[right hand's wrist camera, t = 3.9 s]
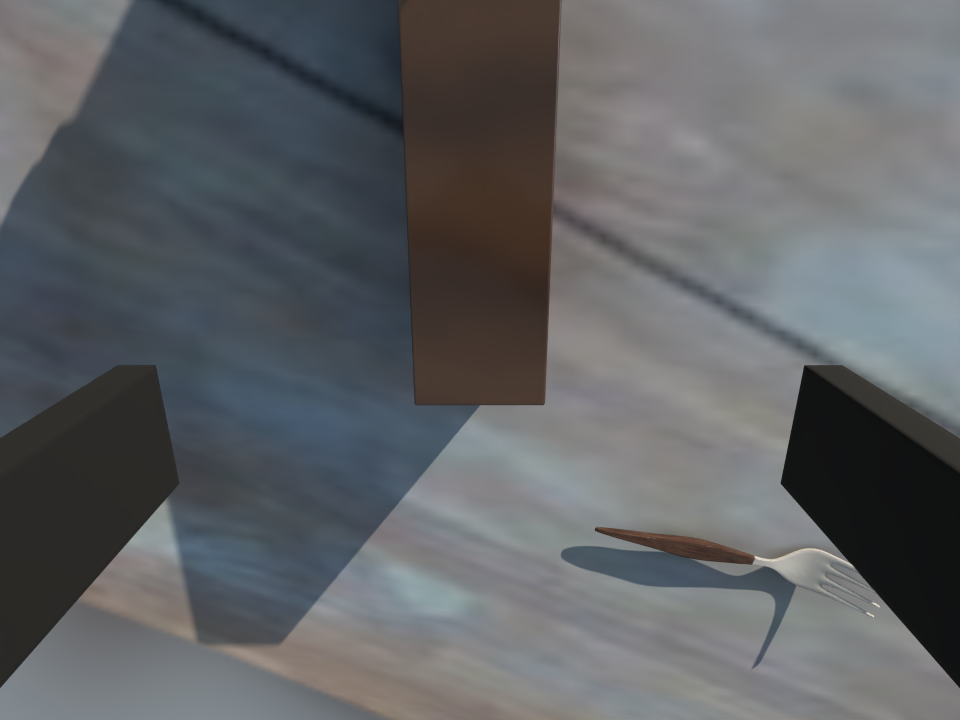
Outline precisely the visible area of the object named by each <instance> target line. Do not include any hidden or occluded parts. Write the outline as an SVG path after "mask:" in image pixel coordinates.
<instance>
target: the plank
mask: <svg viewBox="0 0 960 720" xmlns="http://www.w3.org/2000/svg"><path fill="white" fill-rule="evenodd" d="M561 2H562V0H398V15H399V39H400V63H401V87H402V111H403V135H404V159H405V183H406V207H407V231H408V255H409V279H410V303H411V328H412V352H413V376H414V400H415V405H544V404H545V389H546V365H547V341H548V317H549V293H550V268H551V244H552V220H553V196H554V171H555V147H556V123H557V99H558V74H559V50H560V26H561Z"/></svg>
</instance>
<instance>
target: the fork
mask: <svg viewBox="0 0 960 720" xmlns="http://www.w3.org/2000/svg"><path fill="white" fill-rule="evenodd" d="M595 531H597V532H599V533H602V534H605V535H609V536H612V537H615V538H619V539H622V540H626V541H629V542H633V543H637V544H640V545H644V546H648V547H651V548H654V549H658V550H661V551H664V552H668V553H671V554H675V555H678V556H682V557H686V558H691V559H697V560H705V561H715V562H727V563H739V564H750V565H760V566H766V567H770V568H772V569H774V570H775V571H777V572H778V573H779V574H780V575H781V576H782V577H784V578H785V579H786V580H788V581H789V582H791V583H793V584H795V585H797V586H799V587H802V588H805V589H808V590H811V591H814V592H816V593H819V594H822V595H824V596H826V597H829V598H831V599H833V600H836V601H838V602H840V603H842V604H845V605H847V606H849V607H851V608H853V609H856V610H858V611H860V612H862V613H864V614H866V615H868V616H870V617H872V618H874V616H873V615H872V614H870V613H868V612H866V611H864V610H863V609H861V608H859V607H857V606H855V605H854V604H852V603H850V602H848V601H846V600H844V599H843V598H841V597H839V596H837V595H835V594H833V593H831V592H829V591H827V590H826V589H824V588H823V587H822V586H821V585H822V584H825V585H829V586H831V587H834V588H836V589H838V590H841V591H843V592H845V593H848V594H850V595H852V596H855V597H857V598H859V599H861V600H863V601H866V602H868V603H870V604H872V605H874V606H876V607H880V606H879V605H877V604H875V603H874V602H872V601H870V600H868V599H866V598H865V597H863V596H861V595H859V594H857V593H855V592H854V591H852V590H850V589H848V588H846V587H844V586H842V585H840V584H838V583H836V582H834V581H833V580H831V579H829V578H828V577H827V576H826V575H827V574H830V575H834V576H837V577H839V578H842V579H844V580H846V581H849V582H851V583H853V584H856V585H858V586H860V587H863V588H865V589H867V590H869V591H872V592H874V593H876V592H875V591H874V589H872V588H871V587H869V586H867V585H865V584H863V583H861V582H859V581H857V580H856V579H854V578H852V577H850V576H848V575H846V574H844V573H842V572H840V571H838V570H836V569H835V568H833V567H832V564H836V565H840V566H842V567H845V568H848V569H850V570H852V571H855V572H857V573H859V572H858V571H857V570H856V569H855V568H854V567H853V565H852V564H850V563H848V562H846V561H844V560H842V559H840V558H837V557H835V556H833V555H831V554H829V553H827V552H825V551H822V550H819V549H813V548H807V549H801V550H797V551H794V552H792V553H789V554H787V555H785V556H782V557H779V558H776V559H764V558H760V557H756V556H753V555H750V554H747V553H744V552H741V551H738V550H735V549H732V548H729V547H725V546H722V545H719V544H716V543H713V542H709V541H705V540H701V539H697V538H691V537H684V536H674V535H663V534H653V533H645V532H637V531H630V530H622V529H614V528H603V527H596V528H595ZM876 594H877V593H876Z"/></svg>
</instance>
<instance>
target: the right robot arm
mask: <svg viewBox="0 0 960 720" xmlns="http://www.w3.org/2000/svg"><path fill="white" fill-rule="evenodd" d="M178 484H179V479H178V474H177V469H176V464H175V459H174V454H173V449H172V445H171V440H170V435H169V430H168V425H167V420H166V415H165V410H164V405H163V400H162V395H161V390H160V385H159V380H158V375H157V370H156V365H118V366H116V367H114V368H113V369H111V370H109V371H108V372H106V373H105V374H103V375H101V376H100V377H98V378H97V379H95V380H93V381H92V382H90V383H89V384H87V385H85V386H84V387H82V388H80V389H79V390H77V391H76V392H74V393H72V394H71V395H69V396H68V397H66V398H64V399H63V400H61V401H60V402H58V403H56V404H55V405H53V406H51V407H50V408H48V409H47V410H45V411H43V412H42V413H40V414H39V415H37V416H35V417H34V418H32V419H31V420H29V421H27V422H26V423H24V424H22V425H21V426H19V427H18V428H16V429H14V430H13V431H11V432H10V433H8V434H6V435H5V436H3V437H2V438H0V688H1V686H2V685H3V684H4V683H5V682H6V681H7V680H8V678H9V677H10V676H11V675H12V674H13V673H14V672H15V670H16V669H17V668H18V667H19V666H20V665H21V664H22V662H23V661H24V660H25V659H26V658H27V657H28V656H29V654H30V653H31V652H32V651H33V650H34V649H35V648H36V646H37V645H38V644H39V643H40V642H41V641H42V640H43V638H44V637H45V636H46V635H47V634H48V633H49V632H50V631H51V629H52V628H53V627H54V626H55V625H56V624H57V623H58V621H59V620H60V619H61V618H62V617H63V616H64V615H65V613H66V612H67V611H68V610H69V609H70V608H71V607H72V605H73V604H74V603H75V602H76V601H77V600H78V599H79V597H80V596H81V595H82V594H83V593H84V592H85V591H86V589H87V588H88V587H89V586H90V585H91V584H92V583H93V581H94V580H95V579H96V578H97V577H98V576H99V575H100V573H101V572H102V571H103V570H104V569H105V568H106V567H107V565H108V564H109V563H110V562H111V561H112V560H113V559H114V558H115V556H116V555H117V554H118V553H119V552H120V551H121V550H122V548H123V547H124V546H125V545H126V544H127V543H128V542H129V540H130V539H131V538H132V537H133V536H134V535H135V534H136V532H137V531H138V530H139V529H140V528H141V527H142V526H143V524H144V523H145V522H146V521H147V520H148V519H149V518H150V516H151V515H152V514H153V513H154V512H155V511H156V510H157V508H158V507H159V506H160V505H161V504H162V503H163V502H164V500H165V499H166V498H167V497H168V496H169V495H170V494H171V492H172V491H173V490H174V489H175V488H176V487H177V486H178ZM781 484H782V486H783V487H784V488H785V489H786V490H787V491H788V492H789V494H790V495H791V496H792V497H793V498H794V499H795V500H796V502H797V503H798V504H799V505H800V506H801V507H802V508H803V510H804V511H805V512H806V513H807V514H808V515H809V516H810V518H811V519H812V520H813V521H814V522H815V523H816V524H817V526H818V527H819V528H820V529H821V530H822V531H823V532H824V534H825V535H826V536H827V537H828V538H829V539H830V540H831V542H832V543H833V544H834V545H835V546H836V547H837V548H838V550H839V551H840V552H841V553H842V554H843V555H844V556H845V558H846V559H847V560H848V561H849V562H850V563H851V564H852V565H853V567H854V568H855V569H856V570H857V571H858V572H859V573H860V575H861V576H862V577H863V578H864V579H865V580H866V581H867V583H868V584H869V585H870V586H871V587H872V588H873V589H874V591H875V592H876V593H877V594H878V595H879V596H880V597H881V599H882V600H883V601H884V602H885V603H886V604H887V605H888V607H889V608H890V609H891V610H892V611H893V612H894V613H895V615H896V616H897V617H898V618H899V619H900V620H901V621H902V623H903V624H904V625H905V626H906V627H907V628H908V629H909V631H910V632H911V633H912V634H913V635H914V636H915V637H916V639H917V640H918V641H919V642H920V643H921V644H922V645H923V647H924V648H925V649H926V650H927V651H928V652H929V653H930V654H931V656H932V657H933V658H934V659H935V660H936V661H937V662H938V664H939V665H940V666H941V667H942V668H943V669H944V670H945V672H946V673H947V674H948V675H949V676H950V677H951V678H952V680H953V681H954V682H955V683H956V684H957V685H958V686H959V688H960V438H958V437H957V436H955V435H954V434H952V433H950V432H949V431H947V430H946V429H944V428H942V427H941V426H939V425H938V424H936V423H934V422H933V421H931V420H929V419H928V418H926V417H925V416H923V415H921V414H920V413H918V412H917V411H915V410H913V409H912V408H910V407H909V406H907V405H905V404H904V403H902V402H900V401H899V400H897V399H896V398H894V397H892V396H891V395H889V394H888V393H886V392H884V391H883V390H881V389H880V388H878V387H876V386H875V385H873V384H871V383H870V382H868V381H867V380H865V379H863V378H862V377H860V376H859V375H857V374H855V373H854V372H852V371H851V370H849V369H847V368H846V367H844V366H842V365H804V370H803V375H802V380H801V385H800V390H799V395H798V400H797V405H796V410H795V415H794V420H793V425H792V430H791V435H790V440H789V445H788V449H787V454H786V459H785V464H784V469H783V474H782V479H781Z"/></svg>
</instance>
